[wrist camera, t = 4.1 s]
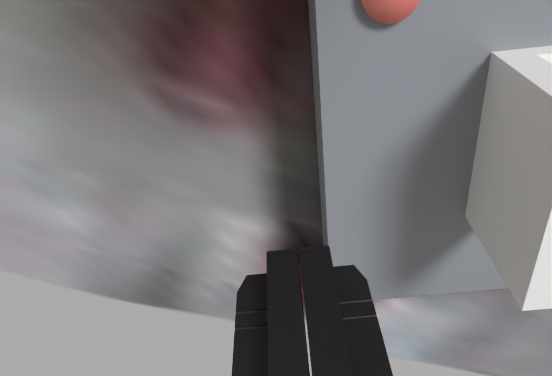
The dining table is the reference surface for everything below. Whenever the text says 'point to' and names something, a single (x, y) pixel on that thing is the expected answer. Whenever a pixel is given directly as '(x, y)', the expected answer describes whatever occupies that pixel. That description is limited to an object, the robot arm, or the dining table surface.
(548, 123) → the white l-shaped bracket
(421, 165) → the socket
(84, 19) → the dining table surface
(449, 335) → the dining table surface
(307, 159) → the dining table surface
